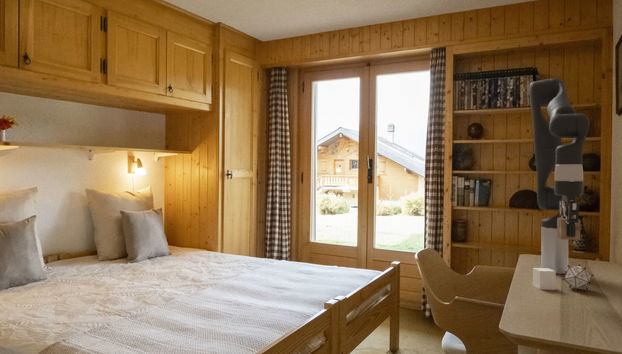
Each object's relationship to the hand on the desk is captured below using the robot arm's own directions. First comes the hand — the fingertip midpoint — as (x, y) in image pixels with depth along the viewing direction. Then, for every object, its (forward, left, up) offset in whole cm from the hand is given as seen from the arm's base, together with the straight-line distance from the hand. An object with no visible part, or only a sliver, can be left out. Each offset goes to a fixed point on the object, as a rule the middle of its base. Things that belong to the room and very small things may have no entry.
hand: (568, 235), depth 131 cm
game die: (-13, +5, -19) cm, 23 cm away
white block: (-12, -5, -19) cm, 23 cm away
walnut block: (0, 0, -1) cm, 1 cm away
